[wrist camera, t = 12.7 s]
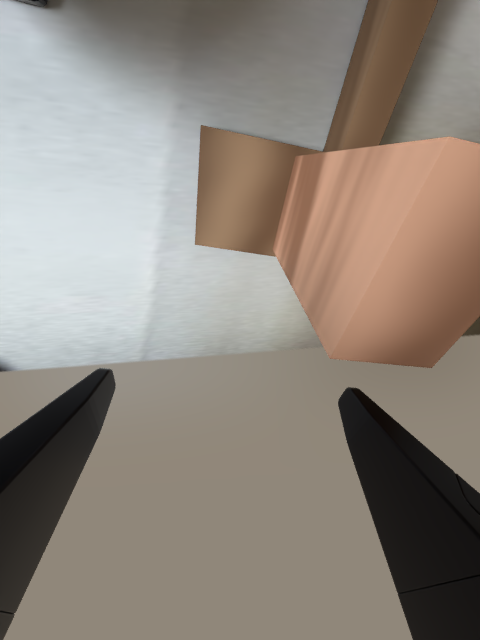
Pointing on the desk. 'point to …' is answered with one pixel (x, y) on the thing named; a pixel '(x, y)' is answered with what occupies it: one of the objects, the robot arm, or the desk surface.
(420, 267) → the wooden l-shaped stand
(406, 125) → the desk surface
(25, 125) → the desk surface
